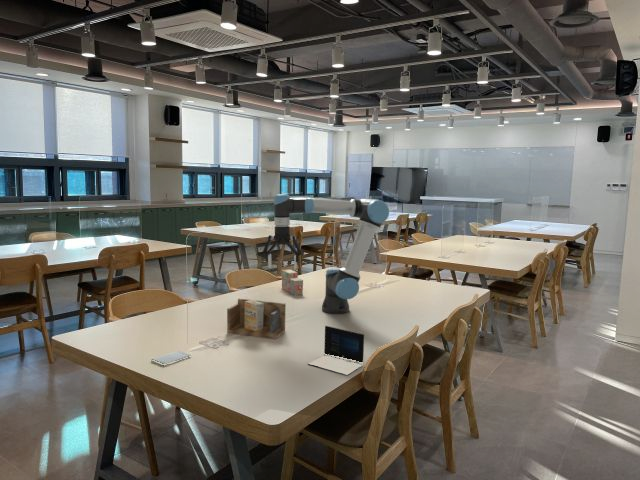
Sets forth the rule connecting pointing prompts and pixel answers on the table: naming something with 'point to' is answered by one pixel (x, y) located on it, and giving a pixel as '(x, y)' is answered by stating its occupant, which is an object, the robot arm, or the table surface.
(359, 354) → the laptop
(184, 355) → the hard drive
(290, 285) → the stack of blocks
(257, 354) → the table surface
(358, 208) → the robot arm
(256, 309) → the supplement box
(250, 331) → the small wooden side table
